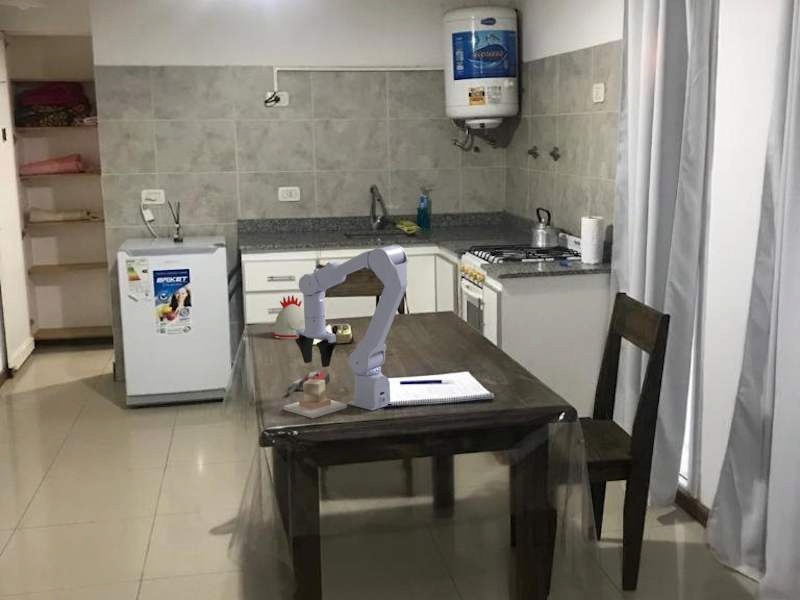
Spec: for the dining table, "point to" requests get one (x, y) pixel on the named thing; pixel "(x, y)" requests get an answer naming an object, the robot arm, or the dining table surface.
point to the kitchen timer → (289, 318)
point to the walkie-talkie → (312, 375)
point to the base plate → (315, 412)
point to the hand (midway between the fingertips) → (316, 364)
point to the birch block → (314, 390)
